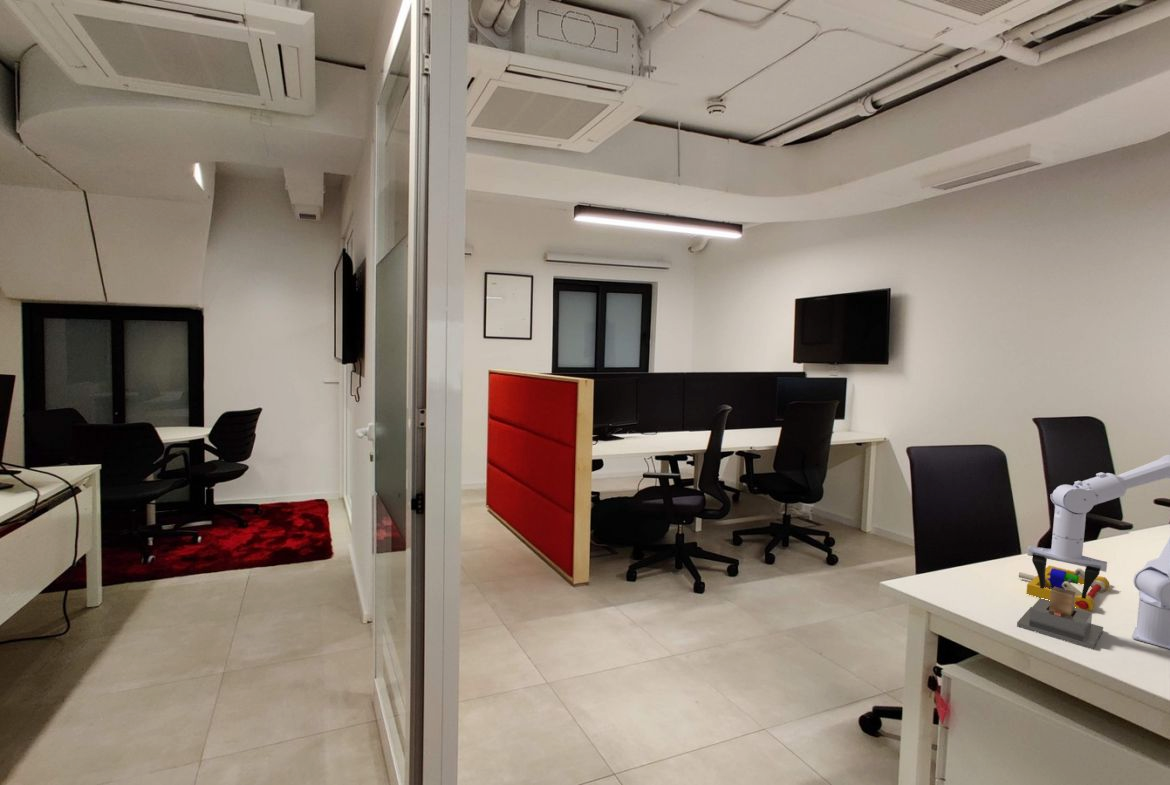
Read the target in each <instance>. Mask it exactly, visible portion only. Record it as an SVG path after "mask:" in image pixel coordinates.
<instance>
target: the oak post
mask: <svg viewBox="0 0 1170 785" xmlns="http://www.w3.org/2000/svg"><path fill="white" fill-rule="evenodd" d="M1051 589H1052V588H1051ZM1074 603H1075V592H1074V591H1070V590H1066V589H1062V588H1058V587H1053V589H1052V590H1051V594H1050V605H1049V611H1053V612H1055V611H1056V610H1057V611H1061V612H1062V614H1064V615H1067V616H1071V617H1073V614H1074Z"/></svg>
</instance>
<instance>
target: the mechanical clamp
mask: <svg viewBox="0 0 1170 785" xmlns="http://www.w3.org/2000/svg"><path fill="white" fill-rule="evenodd" d="M1018 578H1020V579H1025V580H1028V581H1029V582H1028V583H1027V585H1026V592H1025V594H1029V595H1028V596H1030V595H1033V596H1032V597H1034V596H1036V597H1035V598H1037V597H1040V598H1044V599H1048V600H1050V594H1051V590H1052V588H1053V587H1058V588H1062V589H1066V590H1070V591H1074V592H1075V603H1074V607H1076V608H1079V609H1083V610H1086V611H1090V612H1092V610H1093V609H1094V607H1095V605H1096V603H1095V600H1094V598H1095V597H1096V596H1097V594H1098V593H1100V592H1106V591H1107V590H1108V589H1109V588H1110V581H1109V580H1108V579H1107V577H1105V576H1101V575H1100V576H1099V575H1098V576H1097V578H1096V579H1095V580H1094V581H1093V583H1092V584H1091V587H1090V588H1091V589H1090V590H1088V592H1087V594H1086V599H1084V598H1082V591H1080V590H1079V589H1078V588H1076V587H1075V586H1074V585H1073V584H1075V585H1078V583H1080V584H1079V585H1082V584H1084V578H1085V570H1084V569H1082V568H1079V567H1078V568H1076V569H1074V570H1071V569H1066V568H1063V567H1062V568H1061V567H1058V566H1057V567H1056V566H1054V565H1048V566H1046V570H1045V587H1048V588H1045V587H1044V589H1042V588H1040V581H1039V577H1038V575H1034V574H1033V575H1032V574H1028V573H1026V572H1025V573H1024V572H1020V571H1019V572H1018ZM1049 588H1050V589H1049ZM1040 598H1039V599H1040Z"/></svg>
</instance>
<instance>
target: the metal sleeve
mask: <svg viewBox="0 0 1170 785" xmlns="http://www.w3.org/2000/svg"><path fill="white" fill-rule="evenodd" d="M1049 605H1050V601H1049V600H1045V599H1041V598H1038V600H1037V601H1036V602H1035V603H1034V604H1033V605H1032V606H1030V607H1029V609H1027V611H1025V613H1024V614H1023V615H1022V617H1020V619H1018V621H1017V622H1016V627H1018V626H1020V627H1019V628H1021V627H1023V628H1022V629H1024V628H1026V629H1025V630H1027V629H1030V630H1029V631H1031V630H1033V631H1032V632H1034V631H1036V632H1035V633H1037V632H1040V633H1039V634H1041V633H1042V635H1044V634H1045V635H1044V636H1047V635H1048V637H1051V636H1052V637H1051V638H1054V637H1056V638H1055V639H1057V638H1059V639H1058V640H1060V639H1062V640H1061V641H1064V640H1065V641H1064V642H1067V641H1068V642H1067V643H1070V642H1071V643H1072V644H1074V645H1077V646H1080V645H1081V647H1085V648H1087V647H1088V648H1087V649H1090V648H1091V650H1094V648H1096V646H1097V643H1098V642H1099V639H1100V637H1101V636H1102V634H1103V631H1104V626H1101V625H1097V624H1094V623H1092V618H1093V611H1086V610H1083V609H1079V608H1075V607H1074V614H1073V617H1071V616H1067V615H1064V614H1062V612H1061V611H1057V610H1056V611H1055V612H1053V611H1049ZM1071 643H1070V644H1071Z"/></svg>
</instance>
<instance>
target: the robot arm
mask: <svg viewBox="0 0 1170 785" xmlns="http://www.w3.org/2000/svg"><path fill="white" fill-rule="evenodd" d="M1165 479H1170V454H1166V455H1165V454H1164V455H1162V456H1161V457H1159V459H1156V460H1154V461H1151V462H1149V463H1146V464H1143V465H1140V466H1138V467H1135V468H1133V469H1130V470H1128V471H1126V472H1125V471H1124V472H1123V473H1120V474H1117V475H1116V474H1114V473H1110V472H1106V473H1105V472H1102V471H1101V472H1098V473H1096V474H1095V476H1094V477H1090V478H1088V479H1084V480H1082V481H1081V480H1077V481H1073V482H1074V484H1073V485H1071V484H1060V485H1059V486H1057V487H1056V488H1055V489H1054V490H1053V492H1052V493H1050V494H1049V495H1050V500H1051V502H1052V504H1054V514H1053V515H1054V516H1053V526H1052V536H1051V537H1052V538H1051V548H1044V547H1037V546H1036V547H1035V546H1031V545H1029V546H1028V547H1027V553H1026V554H1027V556H1028V557H1029V556H1030V557H1032V559H1031V561H1032V564H1033V565H1034V568H1035V571H1036V572H1037V576H1038V577H1039V581H1040V588H1042V589H1044V587H1045V570H1046V568H1047V561H1048V560H1051V561H1055V562H1061V563H1065V564H1066V563H1067V564H1070V565H1076V566H1078V567H1079V566H1080V567H1084V571H1085V578H1084V585H1083V586H1082V587H1083V588H1082V591H1081V592H1082V598H1084V599H1086V595H1087V594H1088V592H1089V591H1090V590H1089V589H1090V588H1091V587H1090V586H1091V584H1092V583H1093V581H1094V580H1095V579H1096V578H1097V576H1099V575H1100V573H1101V572H1105V573H1106V572H1107V567H1108V561H1104V560H1100V559H1097V558H1092V557H1089V556H1085V555H1083V552H1084V551H1083V550H1084V540H1085V539H1084V538H1085V530H1086V521H1087V518H1086V517H1087V513H1089V512H1090V511H1091V510H1092V509H1093V507H1094V506H1097V505H1099V504H1102V503H1106V502H1108V501H1112V500H1115V499H1117V498H1121V497H1123V496H1124V495H1126V492H1127V490H1128V489H1132V488H1135V487H1139V486H1142V485H1146V484H1149V483H1155V482H1157V481H1160V480H1165ZM1100 571H1101V572H1100ZM1132 581H1133V585H1134V587H1135V588H1136V589H1137V590H1138V596H1139V599H1138V610H1137V620H1136V627H1134V630H1133V633H1132V635H1131V638H1132V639H1134V640H1136V641H1140V642H1144V643H1147V644H1151V645H1155V646H1157V647H1161V648H1164V649H1169V650H1170V537H1169V538H1168V540H1167V542H1166V544H1165V546H1164V547H1163V549H1162V550H1161V553H1160V555H1159V556H1158V557H1157V558H1154V559H1151V560H1149V561H1147V562H1146V563H1145V565H1144V566H1143V567H1142V568H1141V569H1139V570H1138V571H1136V573H1135V574H1134V576H1133V580H1132Z"/></svg>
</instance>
